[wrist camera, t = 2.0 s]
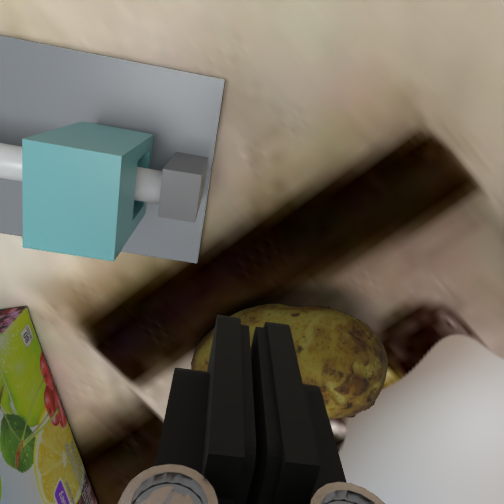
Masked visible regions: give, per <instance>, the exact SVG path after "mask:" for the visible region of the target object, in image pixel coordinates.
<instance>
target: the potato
mask: <svg viewBox="0 0 504 504" xmlns="http://www.w3.org/2000/svg"><path fill="white" fill-rule="evenodd" d="M230 317H237V318H241V324H242V325H249V331H250V348H251V344H252V339H253V335H254V330H255V327H264V324H265V322H272V323H280V324H287V325H289V326H290V329H291V333H292V338H293V342H294V347H295V351H296V356H297V360H298V365H299V369H300V374H301V378H302V382H303V384H307V385H315V386H318V387H319V388H320V390H321V392H322V396H323V399H324V403H325V407H326V410H327V414H328V417H329V419H331V418H343V417H354V416H355V414H357V413H359V412H361V411H364V410H367V409H369V408H370V407H371V406H373V405H374V403H375V400H376V399H377V397H378V395H379V393H380V391H381V389H382V387H383V385H384V382H385V378H386V373H387V368H388V359H387V355H386V351H385V349H384V346H383V345H382V343H381V341H380V340H379V339H378V337H377V336H376V335H375V334H374V333H373V332H372V331H371V330H370V328H369V327H368V325H366V324H364V323H363V322H361V321H360V320H358V319H356V318H354V317H352V316H350V315H348V314H345V313H343V312H340V311H337V310H334V309H331V308H330V307H322V306H315V307H312V306H300V307H290V306H287V305H283V304H265V305H260V306H255V307H251V308H247V309H245V310H242V311H239V312H237V313H235V314H233V315H231V316H230ZM214 329H215V327H214V328H213V329H212V330H211V331H210V332H209V333H208V334H207V335H206V336H205V337H204V338H203V339H202V340H201V341H200V343H199V344H198V345H197V347H196V349H195V352H194V355H193V359H192V362H191V367H192V370H197V371H205V372H207V369H208V363H209V357H210V352H211V346H212V340H213V334H214Z"/></svg>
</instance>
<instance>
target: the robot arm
mask: <svg viewBox="0 0 504 504" xmlns="http://www.w3.org/2000/svg"><path fill="white" fill-rule="evenodd" d="M118 504H385V503H384V502H383V501H382V500H380V498H378V497H377V496H376V495H374V494H373V493H371V492H370V491H368V490H367V489H365V488H363V487H360V486H357V485H354V484H352V483H346V479H345V475H344V472H343V468H342V465H341V461H340V457H339V454H338V450H337V446H336V443H335V439H334V436H333V432H332V428H331V425H330V421H329V417H328V414H327V410H326V407H325V403H324V399H323V396H322V392H321V390H320V388H319V387H318V386H315V385H307V384H303V382H302V378H301V374H300V369H299V365H298V360H297V356H296V351H295V347H294V342H293V338H292V333H291V329H290V326H289V325H287V324H280V323H272V322H265V324H264V327H255V330H254V335H253V339H252V344H251V348H250V331H249V325H242V324H241V318H237V317H230V316H223V315H217V318H216V323H215V329H214V334H213V340H212V346H211V352H210V357H209V363H208V369H207V372H205V371H197V370H190V369H182V368H175V370H174V375H173V380H172V385H171V389H170V394H169V399H168V404H167V409H166V414H165V419H164V424H163V429H162V434H161V439H160V444H159V448H158V453H157V458H156V463H155V466H154V467H152V468H149V469H147V470H145V471H143V472H141V473H140V474H139V475H137V476H136V477H135V478H134V479H133V480H131V481H130V483H129V484H128V486H127V487H126V489H125V490H124V492H123V494H122V496H121V498H120V500H119V503H118Z"/></svg>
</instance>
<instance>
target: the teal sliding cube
mask: <svg viewBox="0 0 504 504" xmlns="http://www.w3.org/2000/svg"><path fill="white" fill-rule="evenodd" d="M152 144H153V134H149V133H144V132H138V131H133V130H127V129H122V128H116V127H111V126H105V125H100V124H94V123H89V122H83V121H82V122H78V123H75V124H71V125H68V126H65V127H61V128H58V129H54V130H51V131H47V132H44V133H40V134H37V135H34V136H30V137H27V138H23V139H22V193H23V248H30V249H36V250H43V251H50V252H56V253H63V254H69V255H76V256H82V257H89V258H96V259H102V260H109V261H114V260H115V259H116V257H117V256H118V254H119V253H120V251H121V250H122V248H123V247H124V245H125V244H126V242H127V241H128V239H129V238H130V236H131V235H132V233H133V232H134V230H135V229H136V227H137V226H138V224H139V223H140V221H141V220H142V218H143V217H144V215H145V214H146V205H147V202H143V201H137V200H134V196H135V185H136V174H137V167H142V168H148V169H150V165H151V155H152Z"/></svg>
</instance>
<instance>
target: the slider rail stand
mask: <svg viewBox="0 0 504 504" xmlns="http://www.w3.org/2000/svg"><path fill="white" fill-rule="evenodd" d="M224 84H225V79H220V78H215V77H210V76H205V75H200V74H195V73H190V72H185V71H180V70H175V69H169V68H164V67H159V66H154V65H149V64H144V63H139V62H134V61H129V60H124V59H118V58H113V57H108V56H103V55H98V54H93V53H88V52H83V51H78V50H73V49H68V48H62V47H57V46H52V45H47V44H42V43H37V42H32V41H27V40H22V39H17V38H11V37H6V36H1V35H0V233H4V234H10V235H17V236H23V193H22V139H23V138H27V137H30V136H34V135H37V134H40V133H44V132H47V131H51V130H54V129H58V128H61V127H65V126H68V125H71V124H75V123H78V122H82V121H83V122H89V123H94V124H100V125H105V126H111V127H116V128H122V129H127V130H133V131H138V132H144V133H149V134H153V144H152V155H151V165H150V169H148V168H142V167H137V174H136V185H135V196H134V200H137V201H143V202H147V205H146V214H145V215H144V217H143V218H142V220H141V221H140V223H139V224H138V226H137V227H136V229H135V230H134V232H133V233H132V235H131V236H130V238H129V239H128V241H127V242H126V244H125V245H124V247H123V248H122V250H121V251H120V252H127V253H133V254H140V255H146V256H152V257H159V258H165V259H172V260H178V261H185V262H191V263H197V262H198V257H199V250H200V244H201V237H202V230H203V224H204V217H205V210H206V204H207V197H208V190H209V184H210V177H211V170H212V164H213V157H214V151H215V144H216V137H217V131H218V124H219V117H220V111H221V104H222V97H223V91H224Z"/></svg>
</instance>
